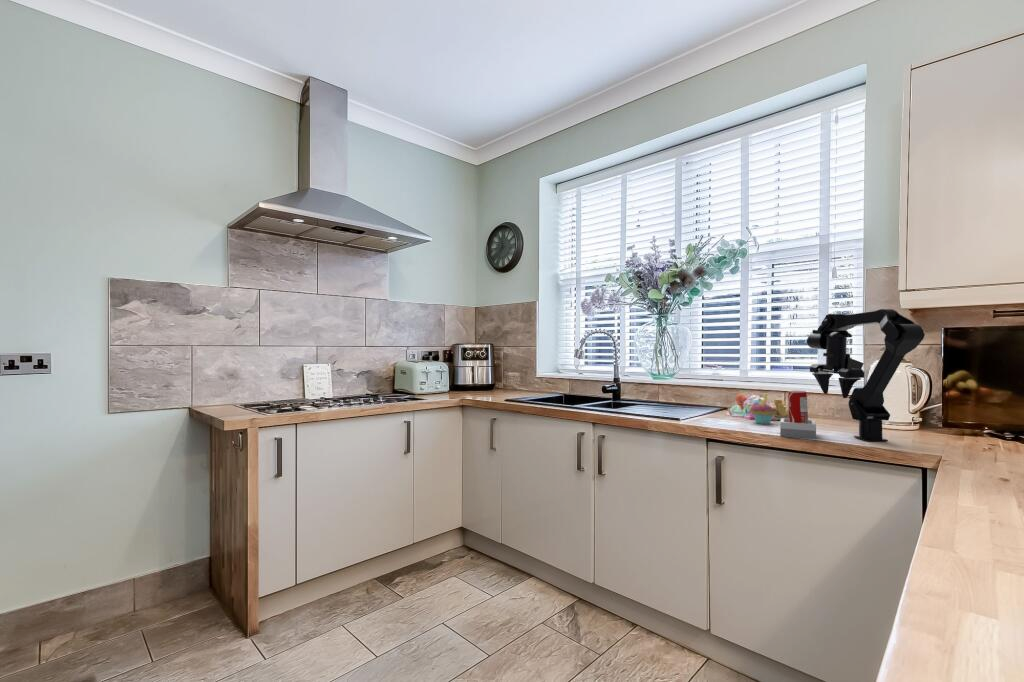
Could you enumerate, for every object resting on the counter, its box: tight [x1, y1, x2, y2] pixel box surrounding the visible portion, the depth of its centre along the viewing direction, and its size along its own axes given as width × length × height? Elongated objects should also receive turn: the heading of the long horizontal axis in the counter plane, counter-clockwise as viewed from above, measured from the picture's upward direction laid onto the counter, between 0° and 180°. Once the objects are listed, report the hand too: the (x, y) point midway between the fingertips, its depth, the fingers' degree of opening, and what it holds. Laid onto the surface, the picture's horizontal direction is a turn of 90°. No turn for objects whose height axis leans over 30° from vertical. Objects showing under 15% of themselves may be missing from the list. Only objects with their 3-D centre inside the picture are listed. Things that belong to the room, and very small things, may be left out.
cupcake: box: [750, 391, 775, 425], centre depth 189 cm, size 9×8×12 cm
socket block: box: [779, 418, 817, 440], centre depth 164 cm, size 10×10×4 cm
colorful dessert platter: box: [725, 393, 789, 421], centre depth 207 cm, size 25×24×9 cm
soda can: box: [787, 389, 809, 424], centre depth 164 cm, size 6×6×12 cm
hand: (835, 395), depth 170 cm, fingers open, 9 cm apart
